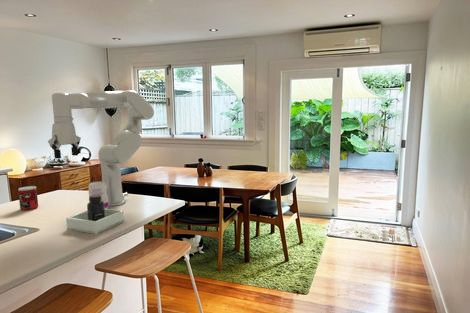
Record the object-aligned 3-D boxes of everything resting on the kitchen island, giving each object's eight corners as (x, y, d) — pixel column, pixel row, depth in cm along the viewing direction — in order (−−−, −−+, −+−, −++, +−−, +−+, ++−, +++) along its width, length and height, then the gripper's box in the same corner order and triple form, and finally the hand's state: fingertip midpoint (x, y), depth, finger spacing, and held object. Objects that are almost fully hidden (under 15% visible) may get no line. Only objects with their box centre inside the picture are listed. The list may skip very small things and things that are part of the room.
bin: (96, 217, 150) (95, 207, 149) (124, 221, 144) (123, 210, 144) (67, 229, 135) (66, 218, 135) (96, 234, 130) (95, 222, 129)
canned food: (16, 210, 165) (14, 189, 163) (31, 205, 172) (29, 185, 170) (27, 211, 162) (24, 190, 160) (41, 207, 169) (39, 186, 168)
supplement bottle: (99, 226, 136) (97, 198, 134) (84, 225, 137) (82, 197, 136) (108, 220, 143) (106, 194, 141) (94, 219, 144) (92, 193, 142)
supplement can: (104, 209, 163) (102, 180, 161) (111, 213, 157) (109, 182, 155) (87, 213, 157) (85, 183, 155) (94, 217, 151) (92, 185, 149)
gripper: (72, 119, 159) (75, 154, 161) (40, 120, 143) (44, 159, 145) (84, 119, 156) (87, 154, 159) (53, 120, 140) (56, 159, 142)
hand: (66, 156), depth 152 cm, fingers open, 9 cm apart
